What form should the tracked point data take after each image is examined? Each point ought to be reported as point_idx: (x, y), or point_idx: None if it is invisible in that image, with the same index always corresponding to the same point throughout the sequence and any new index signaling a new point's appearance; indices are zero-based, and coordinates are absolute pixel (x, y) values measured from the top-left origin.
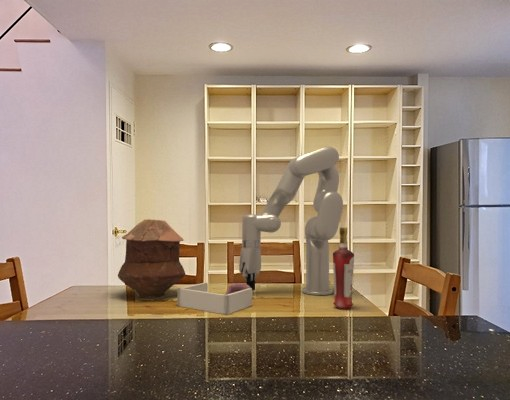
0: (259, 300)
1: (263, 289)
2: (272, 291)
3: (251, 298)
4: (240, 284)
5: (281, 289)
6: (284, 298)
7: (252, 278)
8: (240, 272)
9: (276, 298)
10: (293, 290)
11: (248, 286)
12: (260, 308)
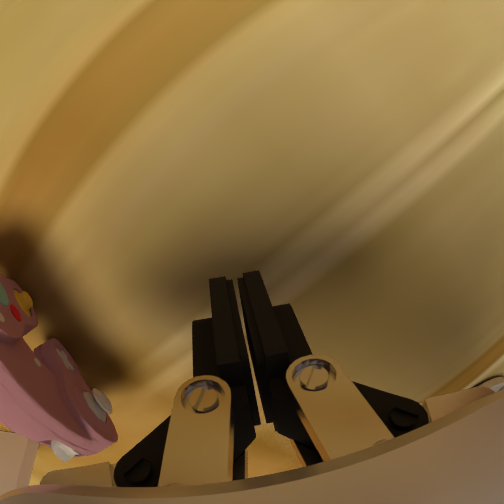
0: (131, 429)
1: (473, 216)
2: (435, 313)
3: (28, 470)
4: (5, 425)
5: (497, 301)
6: (281, 457)
7: (236, 464)
8: (19, 496)
9: (252, 446)
10: (484, 354)
11: (75, 454)
12: (53, 470)
